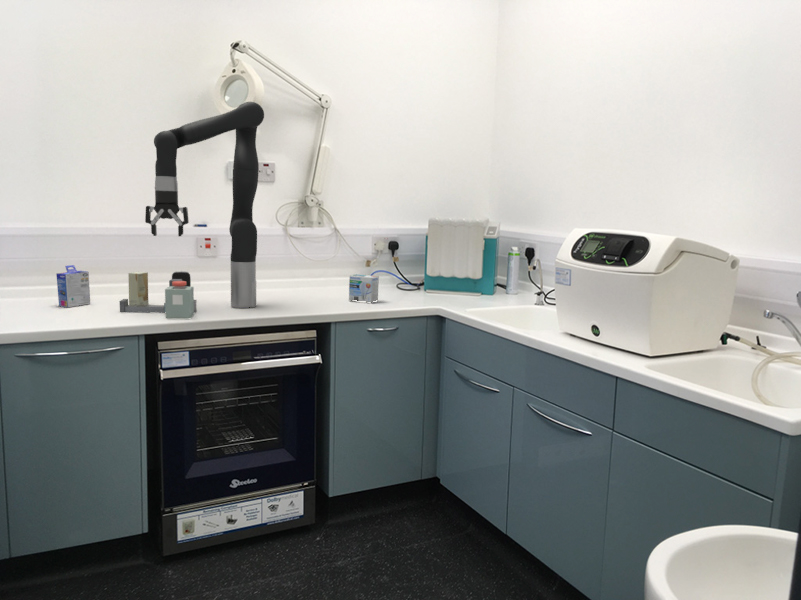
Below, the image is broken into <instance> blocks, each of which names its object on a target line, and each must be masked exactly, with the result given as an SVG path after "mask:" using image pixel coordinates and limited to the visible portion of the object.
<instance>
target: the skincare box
mask: <svg viewBox="0 0 801 600" xmlns="http://www.w3.org/2000/svg"><path fill="white" fill-rule="evenodd" d="M127 274H128V305H146V304H147V305H149V273H148V272H146V271H136V272H135V271H133V272H128V273H127Z"/></svg>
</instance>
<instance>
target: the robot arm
mask: <svg viewBox="0 0 801 600" xmlns="http://www.w3.org/2000/svg"><path fill="white" fill-rule="evenodd" d="M264 119H265V112H264V109H263V107H262V106H261V105H260V104H259V103H257V102H255V101H245V102H243V103H241V104H240V105H238V106H237V107H236V108H234V109H232V110H230V111H228V112H224V113H222V114H219V115H214V116H210V117H207V118H203V119H199V120H196V121H193V122H189V123H187V124H183V125H181V126H180V127H175V128H172V129H168V130H163V131H160V132H158V133H157V134H156V135H154V138H153V145H154V147H155V148H156V149H155V151H156V152H155V153H156V160H155V164H154V168H155V170H154V171H155V178H154V179H155V180H154V202H155V204H154V206H150V205H147V206H145V218H144V219H145V220H144V221H145V223H146V224H149V225H150V228H151V229H150V231H151V232H150V233H151V235H152V236H155V237H156V236H157V235H158V233H157V222H158V221H160V219H162V220H165V219H169V220H172V219H173V220H174V221H175V222H176V223H177V224H178V226H177V229H178V230H177V231H178V232H177V233H178V234H177V235H178V237H182V236H183V235H184V226H185V225H187V224H189V223H190V222H189V213H188V212H189V209H188V207H187V206H184V207H179V187H178V177H177V169H178V168H177V157H178V156H177V155H178V149H180V148H184V147H185V146H189V145H194V144H198V143H200V142H205V141H207V140H209V139H211V138H214V137H217V136H220V135H223V134H225V133H228V132H231V131H235V146H234V157H233V167H232V210H231V218H230V224H229V227H228V228H229V234H230V237H231V249H230V250H231V251H230V307H231V306H232V308H236V309H237V308H238V309H249V307H250V308H256V306H257V276H256V275H257V273H256V272H257V270H256V269H257V268H256V267H257V265H256V264H257V262H256V260H257V259H256V258H257V254H258V253H257V251H258V228H257V227H256V224H255V223H254V222H253V210H254V209H253V208H254V207H253V206H254V202H255V197H256V193H257V190H258V184H259V172H260V170H259V157H258V153H257V147H256V146H257V144H256V142H257V141H256V139H257V130H258V126H260V125H261V124H262V123H263V121H264ZM153 211H155V213H156V215H155V216H154V218H153V219H151V215H152V214H151V213H153ZM179 212H181V214H182V215H183V216H182V217H183V220H181V218H180V216H179V215H178V213H179Z"/></svg>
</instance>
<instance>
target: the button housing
mask: <svg viewBox="0 0 801 600" xmlns="http://www.w3.org/2000/svg"><path fill="white" fill-rule="evenodd" d="M194 289H195V288H194V286H191V287H185V289H174V286H168V287H166V288H165V289H164V298H165V299H164V301H165V302H164V303H165V311H166V313H165V319H166V318H191V319H192V317H194V315H195V313H194V300H195V297H194V295H195V294H194V293H195V292H194Z"/></svg>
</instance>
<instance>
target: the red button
mask: <svg viewBox="0 0 801 600" xmlns="http://www.w3.org/2000/svg"><path fill="white" fill-rule="evenodd" d="M186 285H187V283H186V281H173V282H172V286H174V289H185V286H186Z"/></svg>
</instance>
